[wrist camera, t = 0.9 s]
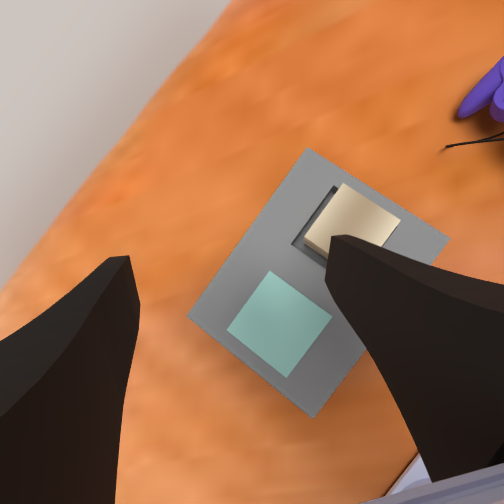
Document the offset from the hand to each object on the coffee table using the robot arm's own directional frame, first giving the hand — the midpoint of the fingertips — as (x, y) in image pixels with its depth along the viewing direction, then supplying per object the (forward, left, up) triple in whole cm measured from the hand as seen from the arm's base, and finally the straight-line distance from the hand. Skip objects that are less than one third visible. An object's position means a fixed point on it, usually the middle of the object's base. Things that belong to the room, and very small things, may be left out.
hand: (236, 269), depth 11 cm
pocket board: (-3, -1, -15) cm, 15 cm away
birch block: (-3, -5, -14) cm, 15 cm away
